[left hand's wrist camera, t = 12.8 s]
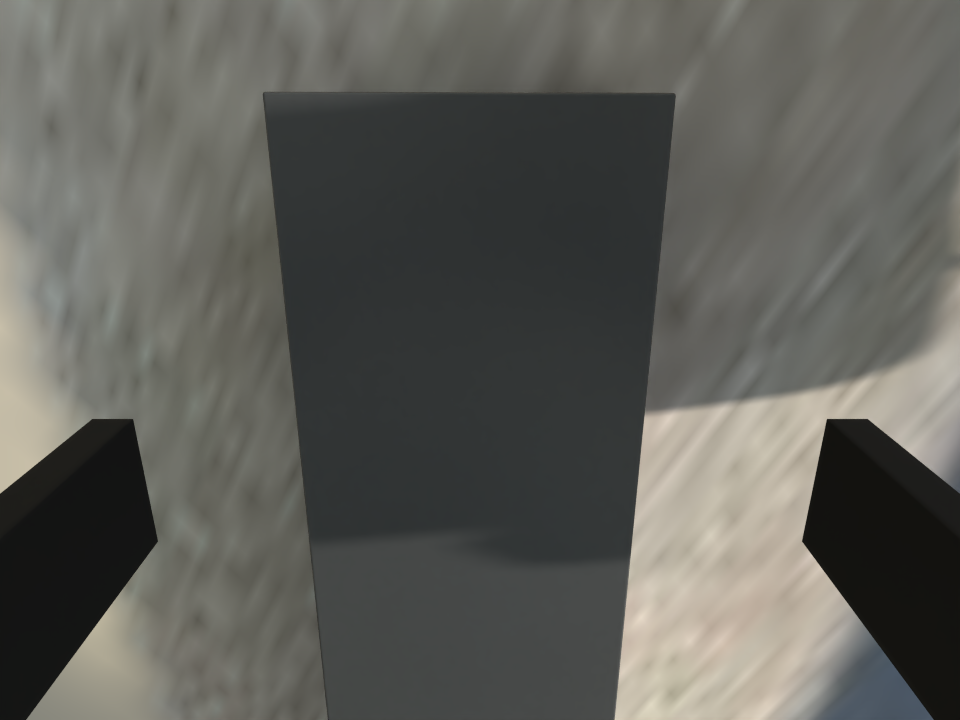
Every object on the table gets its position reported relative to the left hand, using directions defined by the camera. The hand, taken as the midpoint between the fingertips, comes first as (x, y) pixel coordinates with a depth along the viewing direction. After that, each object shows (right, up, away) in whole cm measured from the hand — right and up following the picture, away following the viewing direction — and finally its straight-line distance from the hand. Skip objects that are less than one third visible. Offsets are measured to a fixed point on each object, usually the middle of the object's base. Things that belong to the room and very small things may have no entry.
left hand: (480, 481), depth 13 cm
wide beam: (0, -18, +20) cm, 27 cm away
